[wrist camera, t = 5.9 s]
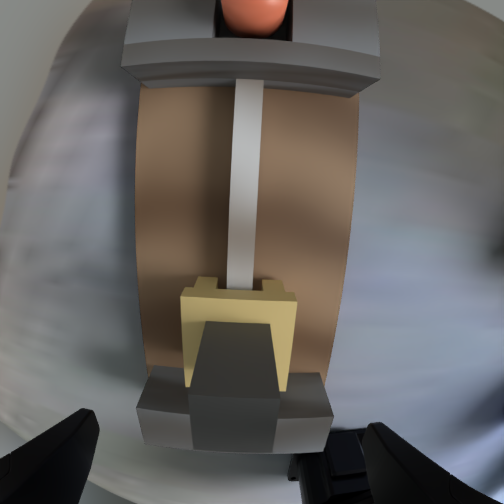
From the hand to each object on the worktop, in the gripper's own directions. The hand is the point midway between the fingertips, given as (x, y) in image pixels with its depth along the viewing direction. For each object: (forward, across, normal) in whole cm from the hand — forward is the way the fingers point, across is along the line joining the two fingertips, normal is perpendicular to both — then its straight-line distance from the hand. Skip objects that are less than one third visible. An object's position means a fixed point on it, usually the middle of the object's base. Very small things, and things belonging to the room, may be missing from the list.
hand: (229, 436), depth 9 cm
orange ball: (+6, 0, -14) cm, 15 cm away
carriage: (+8, 0, 0) cm, 8 cm away
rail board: (+10, 0, -4) cm, 11 cm away
